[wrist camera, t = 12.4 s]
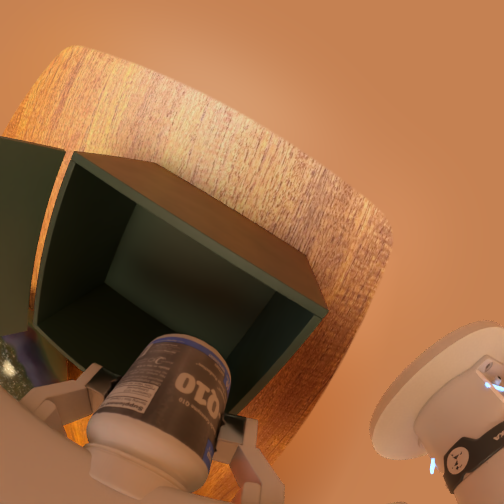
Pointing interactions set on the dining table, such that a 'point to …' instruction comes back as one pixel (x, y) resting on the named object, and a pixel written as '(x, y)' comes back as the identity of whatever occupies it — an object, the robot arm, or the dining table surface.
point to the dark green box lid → (22, 222)
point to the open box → (168, 275)
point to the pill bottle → (161, 419)
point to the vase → (29, 361)
